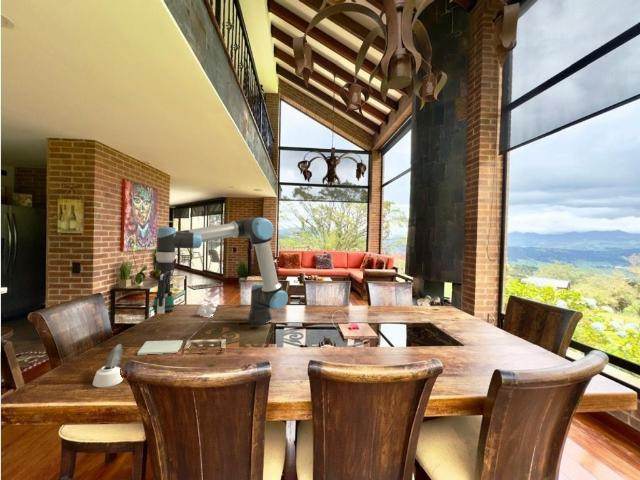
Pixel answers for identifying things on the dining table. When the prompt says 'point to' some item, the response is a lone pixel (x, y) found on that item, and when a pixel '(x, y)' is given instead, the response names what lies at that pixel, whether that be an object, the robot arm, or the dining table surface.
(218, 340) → the frame
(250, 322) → the robot arm
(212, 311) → the rabbit
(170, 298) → the binoculars
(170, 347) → the pad
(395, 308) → the dining table surface
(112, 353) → the inkwell
